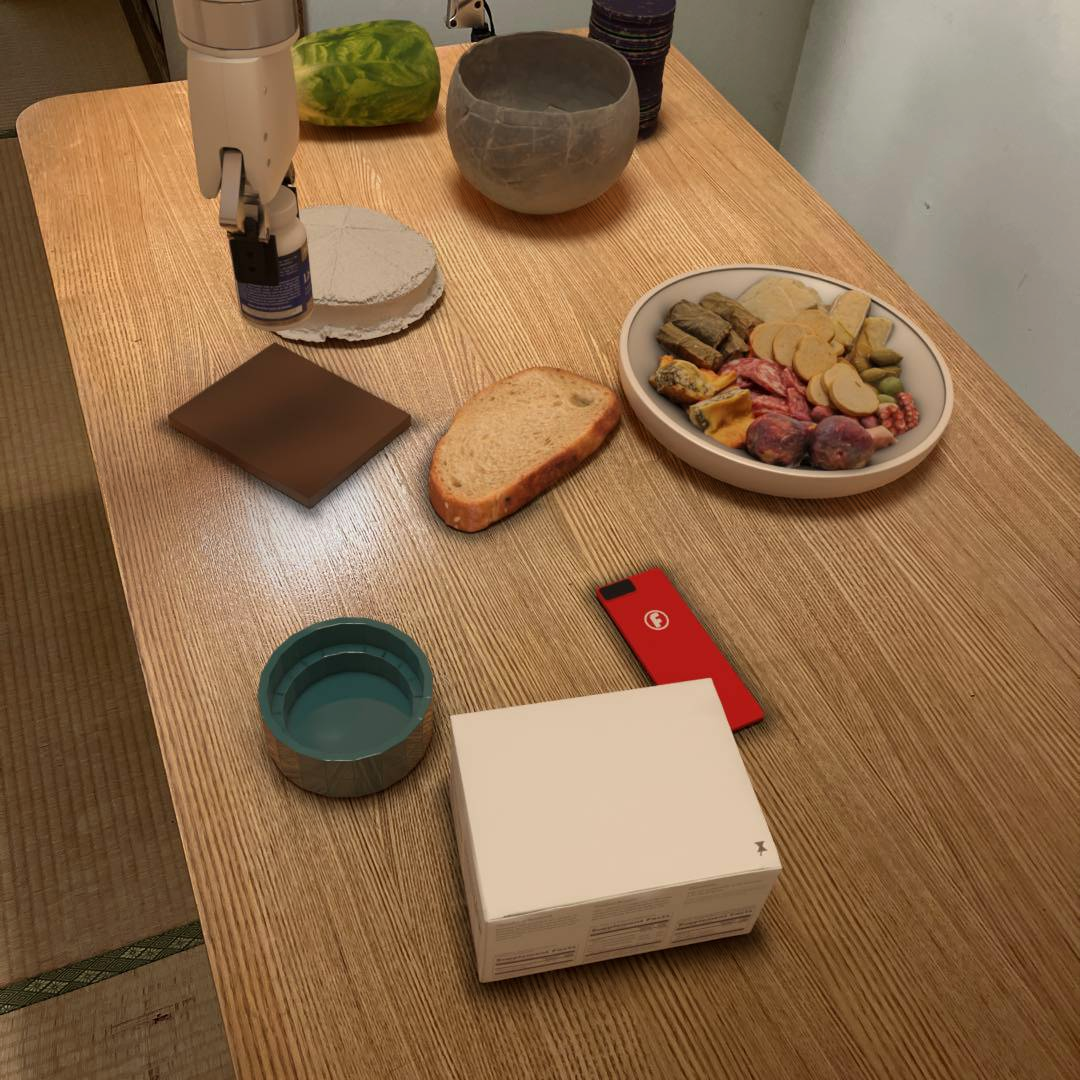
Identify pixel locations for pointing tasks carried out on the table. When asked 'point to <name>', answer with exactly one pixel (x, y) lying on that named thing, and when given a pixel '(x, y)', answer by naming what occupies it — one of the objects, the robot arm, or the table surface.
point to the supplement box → (605, 828)
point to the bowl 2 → (783, 380)
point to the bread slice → (517, 443)
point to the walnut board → (290, 423)
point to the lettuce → (367, 75)
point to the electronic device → (674, 641)
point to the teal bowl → (347, 706)
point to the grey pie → (365, 274)
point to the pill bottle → (294, 291)
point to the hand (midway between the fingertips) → (269, 255)
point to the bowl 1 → (542, 119)
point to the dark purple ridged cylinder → (638, 46)
